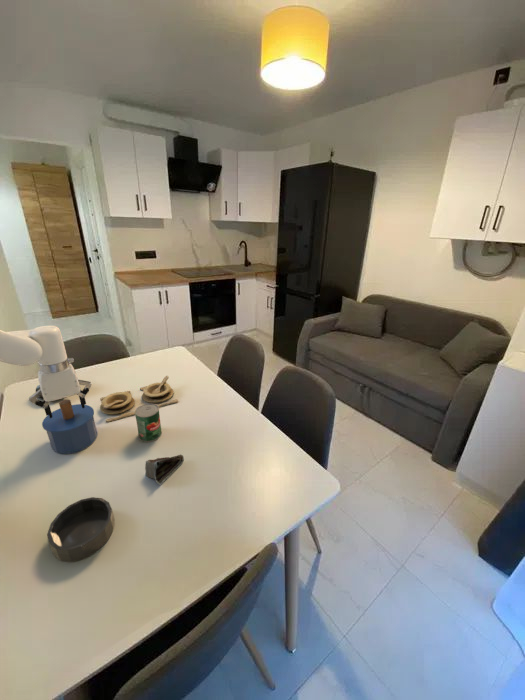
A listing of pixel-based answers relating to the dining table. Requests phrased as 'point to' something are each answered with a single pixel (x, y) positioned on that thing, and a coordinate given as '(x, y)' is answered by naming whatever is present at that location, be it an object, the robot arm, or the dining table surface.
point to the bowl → (81, 529)
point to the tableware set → (125, 401)
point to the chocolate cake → (163, 467)
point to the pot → (73, 438)
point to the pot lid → (67, 417)
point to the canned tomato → (148, 422)
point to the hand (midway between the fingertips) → (67, 410)
